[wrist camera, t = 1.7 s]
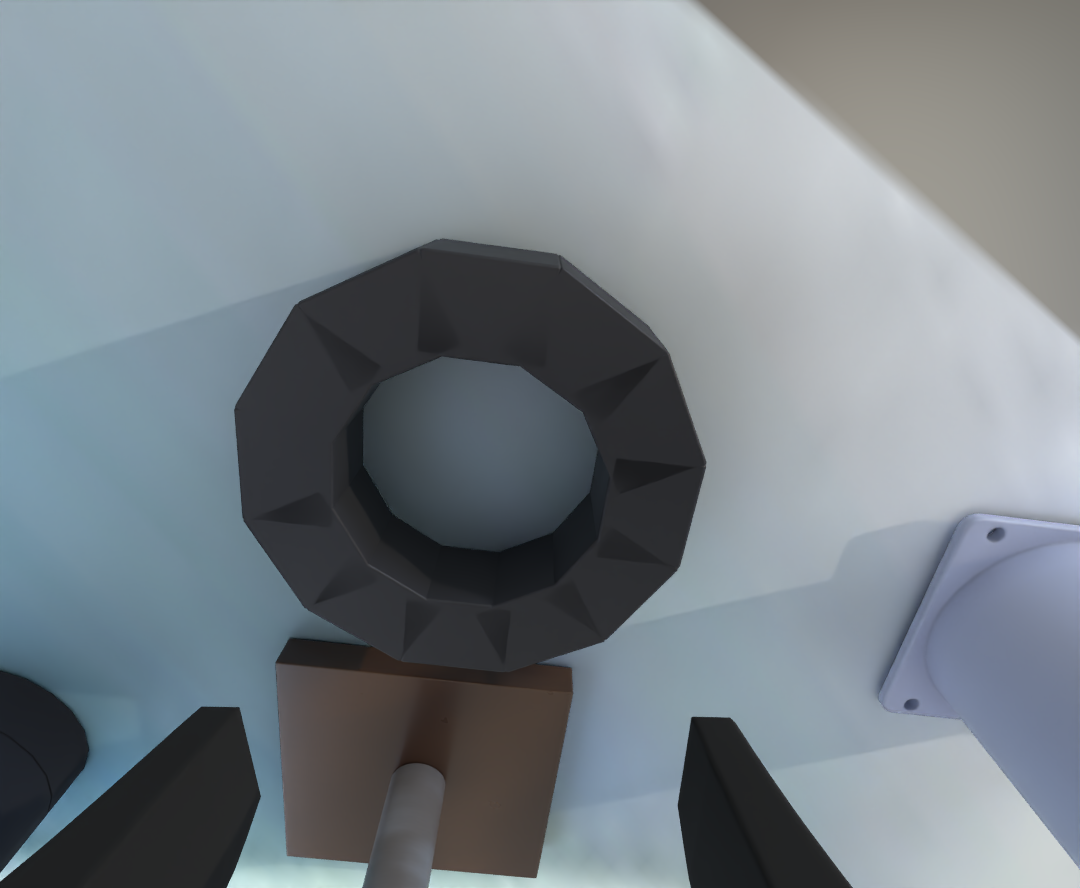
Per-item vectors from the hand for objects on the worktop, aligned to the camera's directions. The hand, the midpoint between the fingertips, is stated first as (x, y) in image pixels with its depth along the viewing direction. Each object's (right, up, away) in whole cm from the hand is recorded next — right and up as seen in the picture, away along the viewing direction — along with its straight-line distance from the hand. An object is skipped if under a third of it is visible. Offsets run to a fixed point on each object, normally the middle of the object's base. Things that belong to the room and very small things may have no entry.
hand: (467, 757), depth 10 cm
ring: (-1, +5, +8) cm, 10 cm away
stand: (-3, -7, +13) cm, 15 cm away
